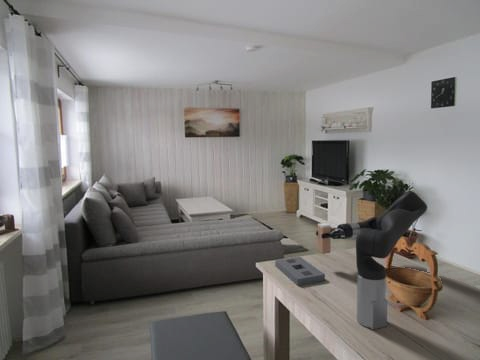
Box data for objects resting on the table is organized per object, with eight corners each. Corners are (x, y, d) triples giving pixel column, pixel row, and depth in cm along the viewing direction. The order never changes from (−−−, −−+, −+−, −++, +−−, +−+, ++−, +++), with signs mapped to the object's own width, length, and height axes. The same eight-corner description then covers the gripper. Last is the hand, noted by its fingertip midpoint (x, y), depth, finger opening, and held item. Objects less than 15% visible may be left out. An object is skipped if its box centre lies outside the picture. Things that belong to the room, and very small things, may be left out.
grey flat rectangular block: (324, 280, 147) (324, 274, 146) (297, 285, 143) (297, 278, 142) (299, 261, 169) (299, 256, 169) (275, 265, 165) (275, 260, 165)
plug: (330, 252, 158) (330, 224, 156) (322, 253, 156) (322, 226, 154) (325, 249, 162) (325, 222, 160) (317, 250, 160) (317, 223, 159)
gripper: (357, 242, 156) (327, 246, 151) (340, 234, 169) (311, 238, 164) (358, 227, 155) (327, 231, 150) (340, 220, 168) (311, 223, 163)
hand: (319, 234), depth 157 cm, fingers closed on plug, 4 cm apart
